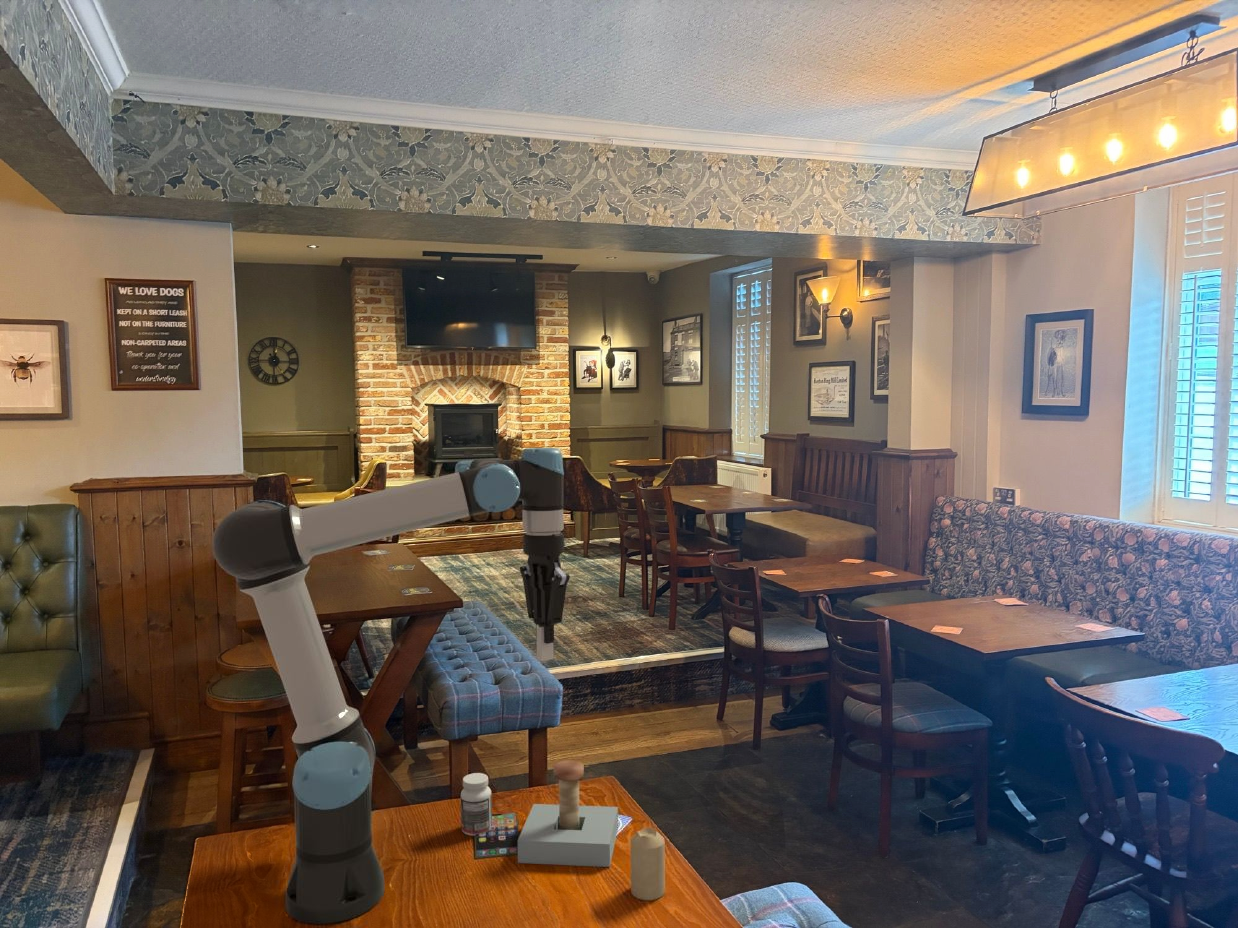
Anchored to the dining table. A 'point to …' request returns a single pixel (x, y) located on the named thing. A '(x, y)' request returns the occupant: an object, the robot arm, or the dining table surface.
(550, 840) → the block
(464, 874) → the dining table surface
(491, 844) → the smartphone
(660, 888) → the candle
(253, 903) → the dining table surface
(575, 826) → the peg
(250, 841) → the dining table surface
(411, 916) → the dining table surface
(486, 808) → the pill bottle
